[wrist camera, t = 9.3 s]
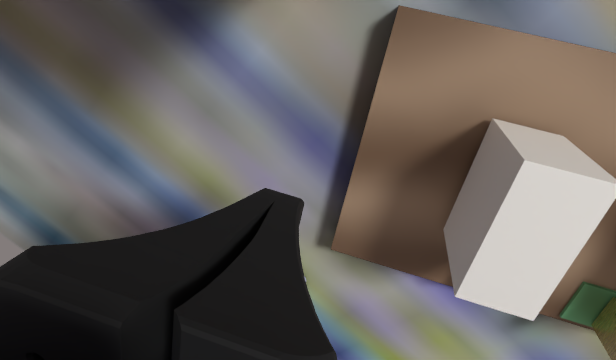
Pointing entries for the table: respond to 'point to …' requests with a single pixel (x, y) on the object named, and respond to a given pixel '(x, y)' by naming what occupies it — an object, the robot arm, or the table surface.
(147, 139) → the table surface
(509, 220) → the white rectangular block
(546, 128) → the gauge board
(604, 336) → the peak pointer
